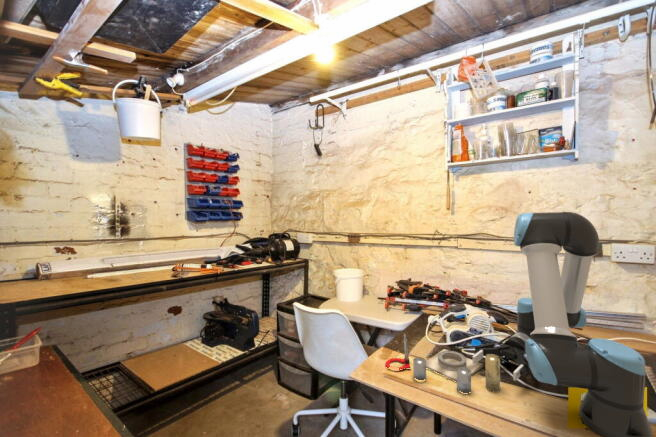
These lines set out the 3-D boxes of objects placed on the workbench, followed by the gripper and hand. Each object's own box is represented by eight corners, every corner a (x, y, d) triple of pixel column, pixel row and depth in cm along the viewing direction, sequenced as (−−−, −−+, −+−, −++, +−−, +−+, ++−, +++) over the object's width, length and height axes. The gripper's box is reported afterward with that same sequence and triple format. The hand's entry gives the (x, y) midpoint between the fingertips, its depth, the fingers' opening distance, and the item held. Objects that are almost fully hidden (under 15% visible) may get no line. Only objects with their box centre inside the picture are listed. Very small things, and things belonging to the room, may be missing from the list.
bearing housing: (482, 366, 122) (482, 357, 121) (461, 385, 112) (461, 375, 111) (444, 351, 134) (444, 343, 134) (421, 366, 124) (421, 357, 124)
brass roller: (502, 388, 109) (502, 357, 108) (496, 393, 106) (496, 362, 105) (489, 382, 112) (488, 352, 111) (483, 387, 110) (483, 357, 108)
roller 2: (473, 390, 108) (473, 371, 108) (466, 396, 106) (466, 376, 105) (461, 384, 112) (461, 365, 111) (454, 389, 109) (454, 370, 109)
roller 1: (428, 378, 116) (428, 360, 116) (421, 384, 113) (421, 365, 113) (418, 373, 120) (418, 356, 119) (411, 378, 117) (410, 360, 116)
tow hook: (387, 373, 122) (411, 371, 121) (384, 340, 121) (409, 339, 120) (384, 361, 130) (407, 359, 130) (381, 331, 129) (404, 329, 128)
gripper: (556, 368, 114) (533, 395, 101) (485, 344, 133) (458, 363, 120) (556, 348, 113) (534, 372, 100) (485, 326, 132) (458, 344, 119)
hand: (492, 368), depth 110 cm, fingers open, 13 cm apart
